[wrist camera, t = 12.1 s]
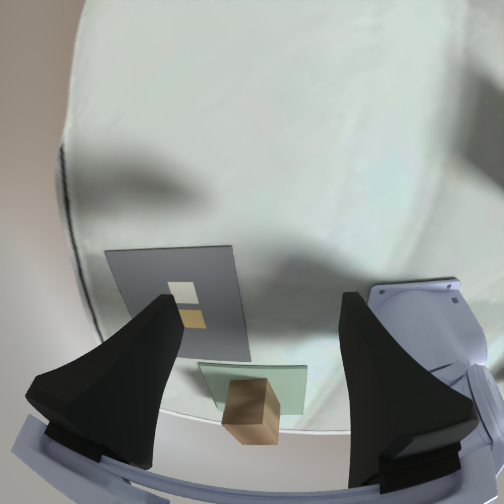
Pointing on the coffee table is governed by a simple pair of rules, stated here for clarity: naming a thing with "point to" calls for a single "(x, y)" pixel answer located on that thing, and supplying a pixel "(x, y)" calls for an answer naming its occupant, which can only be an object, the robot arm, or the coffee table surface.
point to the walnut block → (252, 412)
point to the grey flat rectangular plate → (189, 295)
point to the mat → (280, 378)
